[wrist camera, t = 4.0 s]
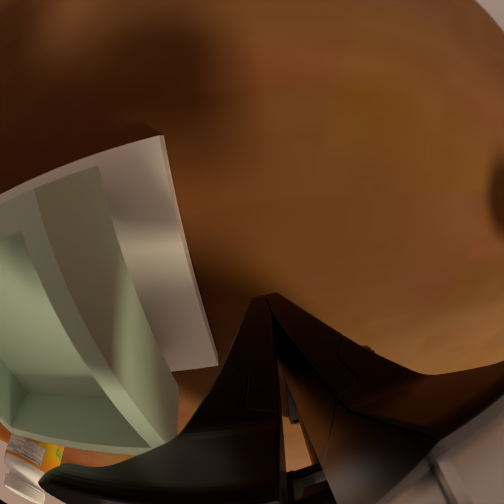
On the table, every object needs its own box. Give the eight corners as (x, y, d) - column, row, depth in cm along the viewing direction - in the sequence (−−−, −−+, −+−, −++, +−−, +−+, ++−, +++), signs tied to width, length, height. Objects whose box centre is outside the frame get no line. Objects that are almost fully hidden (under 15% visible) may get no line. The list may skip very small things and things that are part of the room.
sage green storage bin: (181, 366, 14) (176, 455, 9) (38, 372, 14) (11, 433, 8) (113, 160, 10) (33, 188, 5) (-35, 223, 9) (-96, 265, 4)
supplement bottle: (67, 440, 19) (51, 511, 10) (25, 417, 18) (2, 485, 9) (70, 422, 18) (49, 507, 9) (22, 395, 16) (-9, 475, 7)
